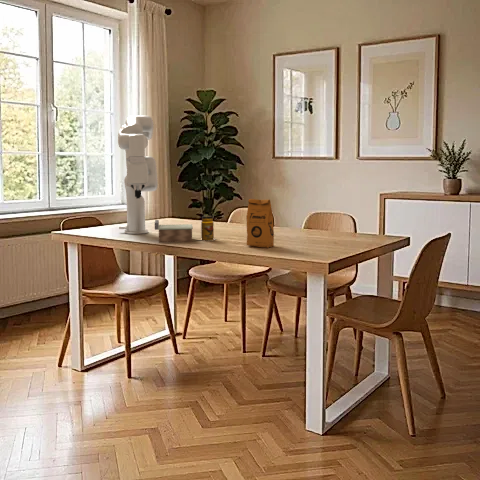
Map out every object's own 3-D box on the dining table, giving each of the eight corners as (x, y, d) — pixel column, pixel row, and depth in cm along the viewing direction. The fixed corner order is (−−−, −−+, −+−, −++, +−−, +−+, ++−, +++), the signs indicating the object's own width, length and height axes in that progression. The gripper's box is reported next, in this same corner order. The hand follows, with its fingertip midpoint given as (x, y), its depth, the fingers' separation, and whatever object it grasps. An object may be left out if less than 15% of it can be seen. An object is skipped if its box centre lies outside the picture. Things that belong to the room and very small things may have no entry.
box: (158, 242, 302) (158, 230, 301) (159, 238, 314) (159, 227, 313) (192, 241, 303) (192, 229, 302) (191, 238, 315) (191, 226, 314)
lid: (154, 229, 300) (154, 223, 300) (155, 226, 313) (155, 220, 312) (192, 229, 302) (192, 222, 302) (192, 225, 314) (191, 219, 314)
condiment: (211, 241, 305) (211, 217, 304) (195, 240, 308) (195, 216, 306) (216, 239, 312) (216, 215, 310) (200, 238, 315) (200, 215, 313)
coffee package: (267, 249, 281) (268, 200, 278) (243, 247, 287) (243, 199, 284) (277, 246, 290) (277, 198, 287) (253, 244, 296) (253, 197, 293)
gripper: (120, 160, 296) (121, 199, 299) (152, 160, 298) (153, 198, 301) (122, 160, 304) (123, 197, 307) (153, 160, 305) (153, 197, 308)
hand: (138, 198), depth 304 cm, fingers closed
